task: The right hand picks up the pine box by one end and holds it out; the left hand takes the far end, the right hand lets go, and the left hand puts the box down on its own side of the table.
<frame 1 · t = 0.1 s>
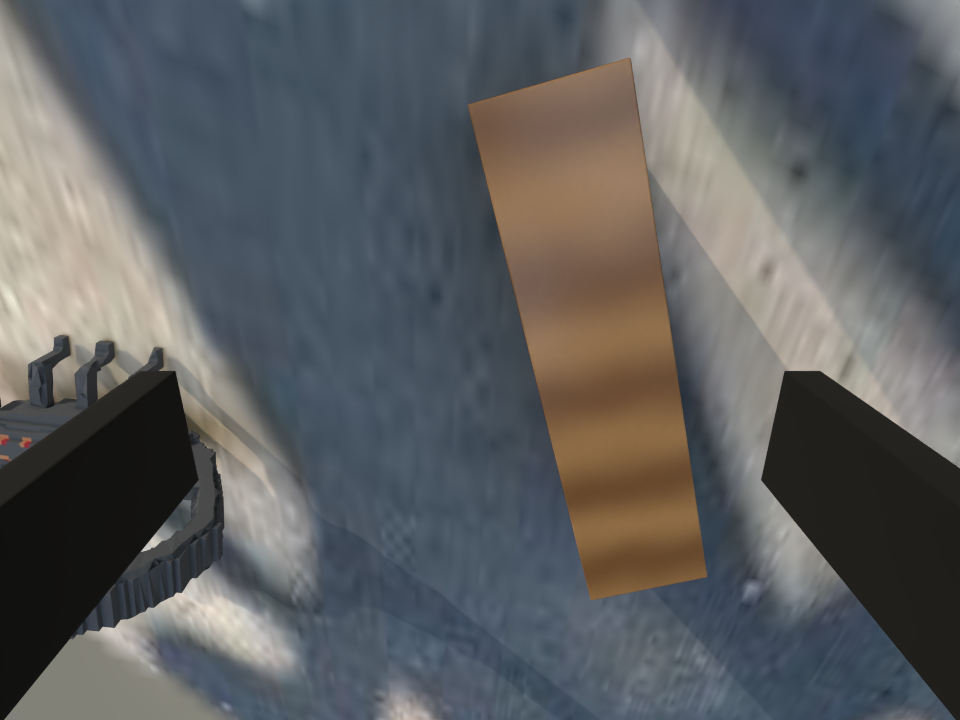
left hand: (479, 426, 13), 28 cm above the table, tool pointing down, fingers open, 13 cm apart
toy: (101, 413, 44), on the table
box: (575, 318, 41), on the table
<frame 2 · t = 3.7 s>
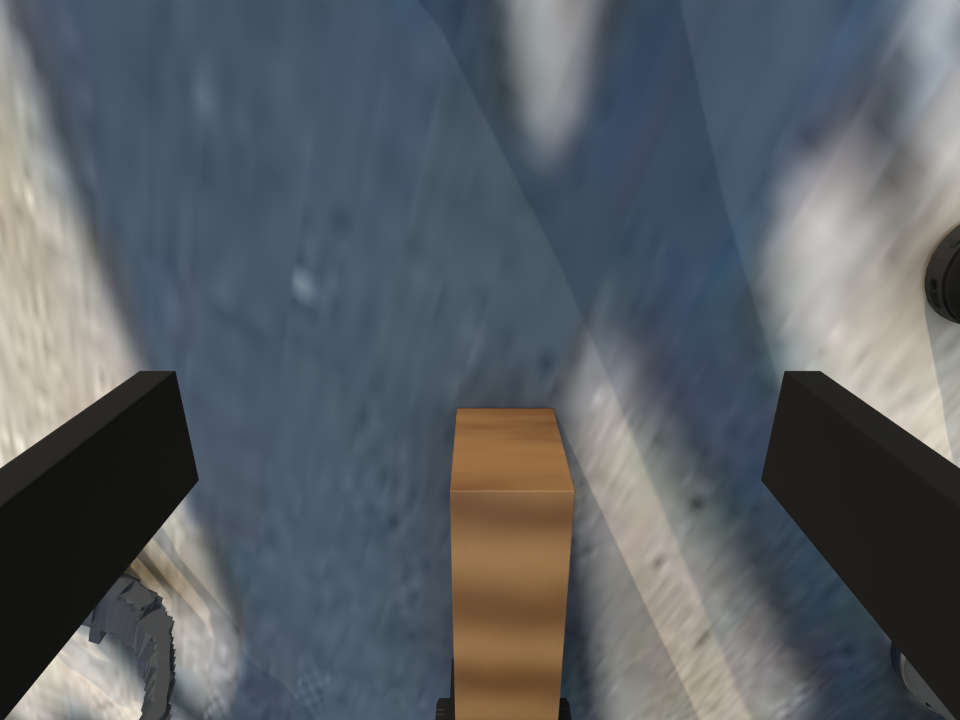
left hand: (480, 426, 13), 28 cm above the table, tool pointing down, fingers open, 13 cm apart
toy: (75, 545, 49), on the table
box: (502, 562, 49), on the table, touching right hand
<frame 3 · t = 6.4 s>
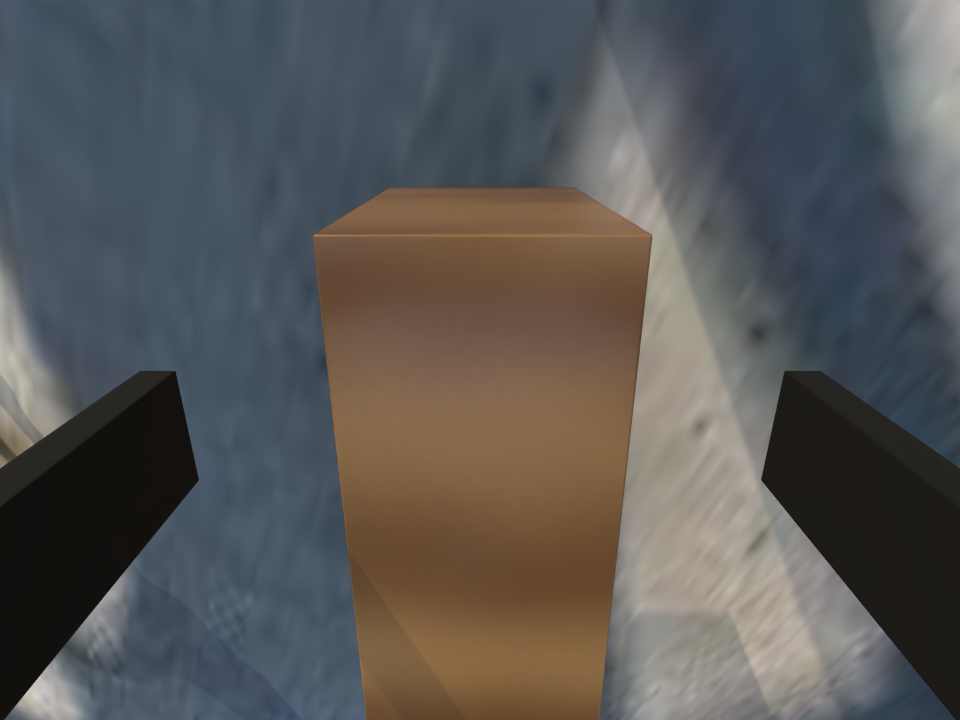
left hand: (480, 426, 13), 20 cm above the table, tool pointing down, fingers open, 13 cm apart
box: (482, 503, 28), point 8 cm above the table, touching right hand
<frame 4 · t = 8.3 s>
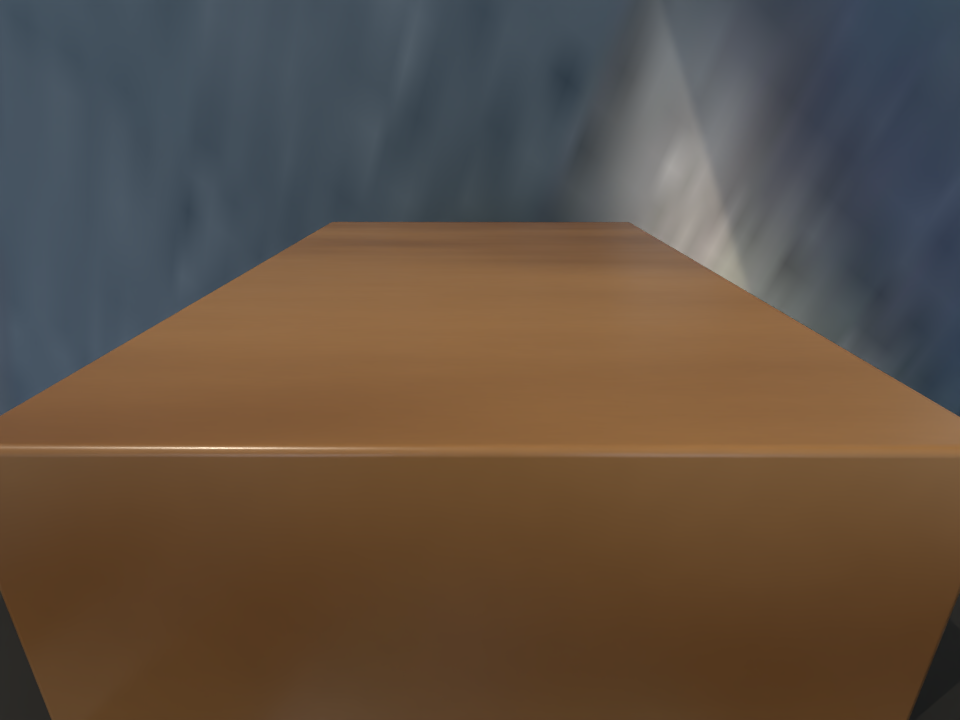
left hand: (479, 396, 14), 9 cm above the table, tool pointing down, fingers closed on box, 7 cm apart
box: (480, 665, 20), point 8 cm above the table, touching left hand, right hand
when the right hand's fingers open (9 cm above the table, at t = 9.1 s): box stays where it is, held by the left hand.
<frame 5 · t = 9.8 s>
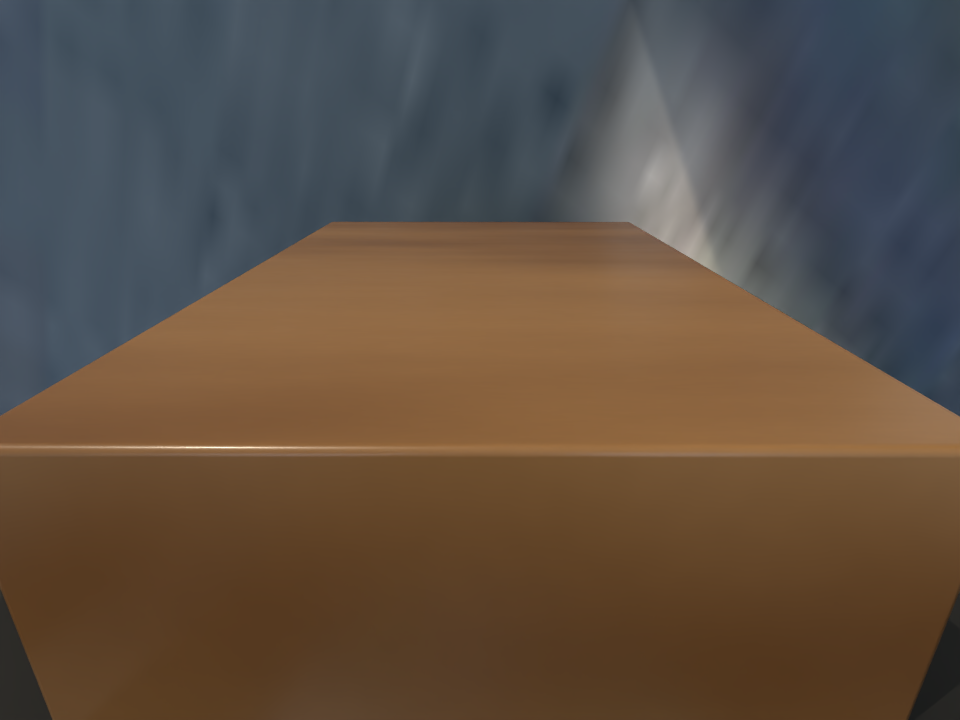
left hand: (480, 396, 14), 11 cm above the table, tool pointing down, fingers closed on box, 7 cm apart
box: (480, 665, 20), point 10 cm above the table, touching left hand
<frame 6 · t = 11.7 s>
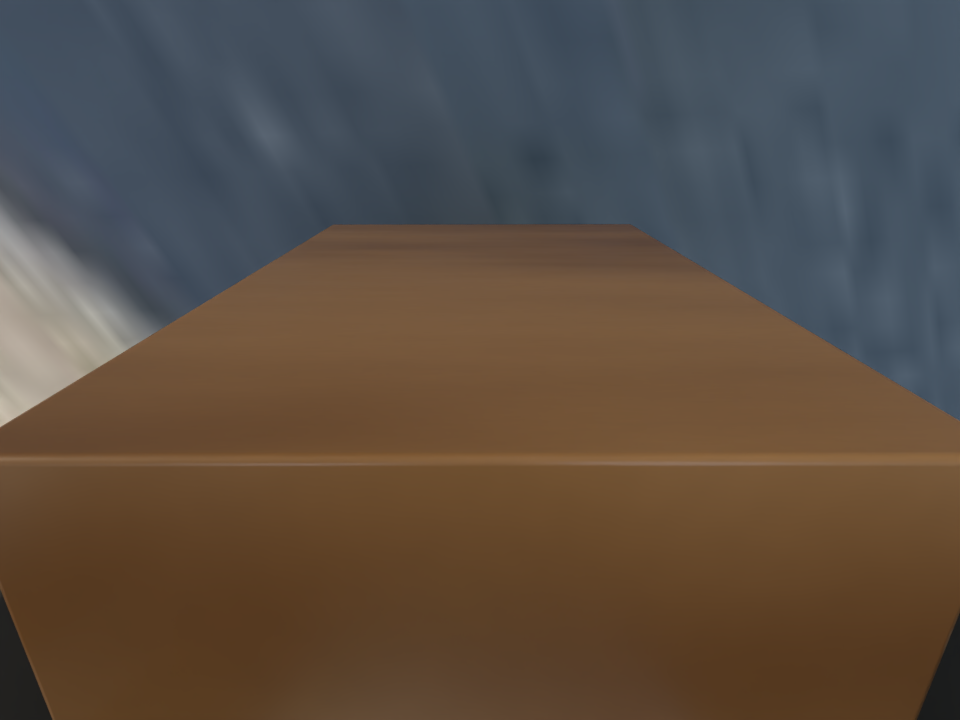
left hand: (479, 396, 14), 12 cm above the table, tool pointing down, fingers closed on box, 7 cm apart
box: (481, 667, 20), point 10 cm above the table, touching left hand
when the left hand's fingers open (3 cm above the table, at t = 15.6 s): box stays where it is, on the table.
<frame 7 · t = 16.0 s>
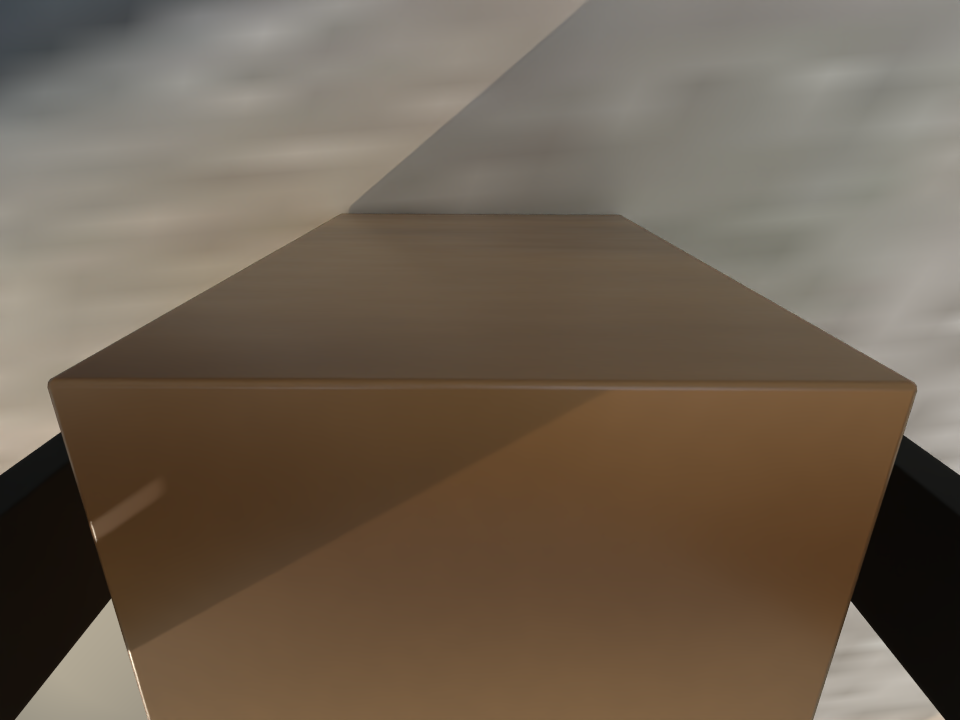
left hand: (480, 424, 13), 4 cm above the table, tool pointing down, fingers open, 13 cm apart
box: (478, 640, 20), on the table
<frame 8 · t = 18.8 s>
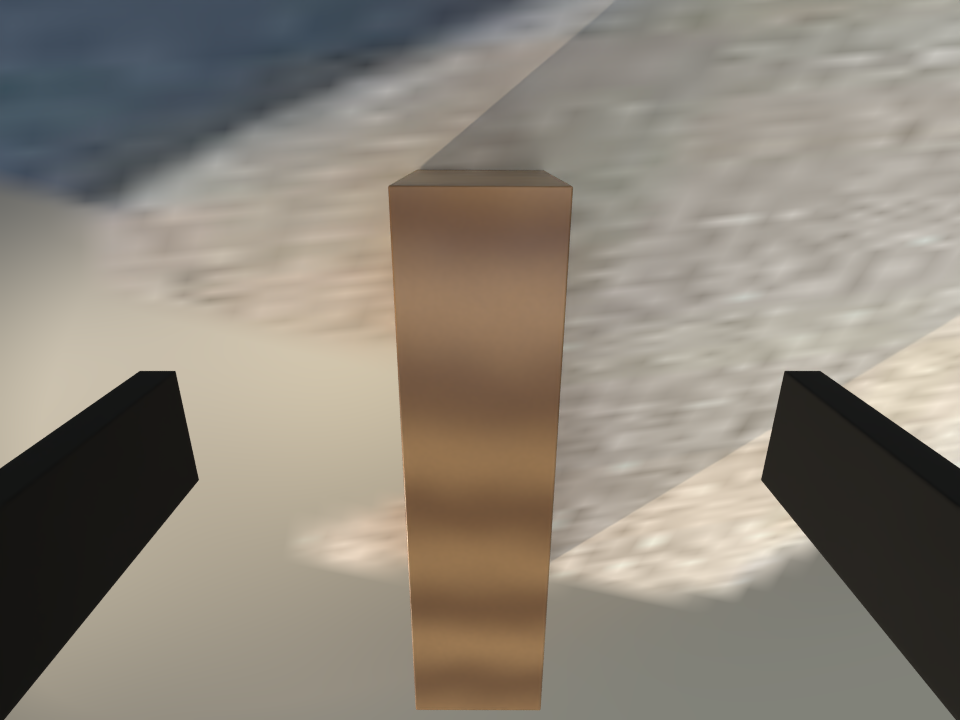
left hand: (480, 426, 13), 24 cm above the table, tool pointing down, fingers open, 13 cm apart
box: (479, 403, 38), on the table
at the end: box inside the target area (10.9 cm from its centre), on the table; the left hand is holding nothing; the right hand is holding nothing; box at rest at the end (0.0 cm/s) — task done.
